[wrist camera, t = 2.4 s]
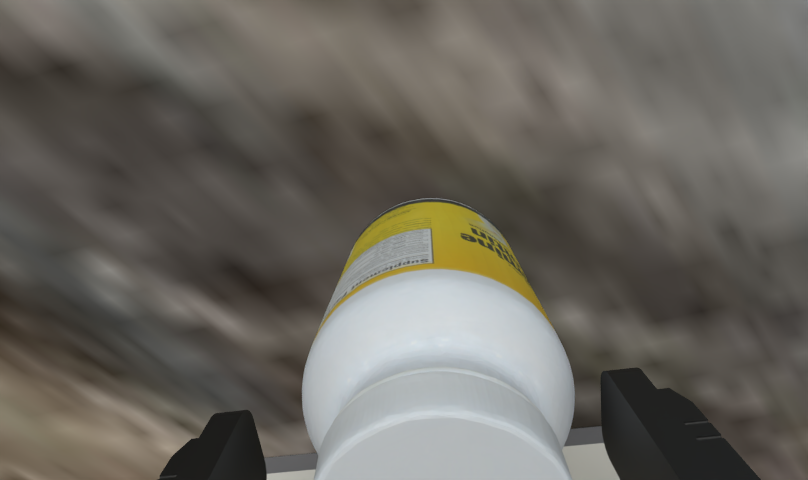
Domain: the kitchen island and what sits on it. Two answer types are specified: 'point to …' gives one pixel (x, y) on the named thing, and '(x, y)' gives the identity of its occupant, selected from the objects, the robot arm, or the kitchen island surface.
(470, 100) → the kitchen island surface
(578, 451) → the socket block
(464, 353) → the pill bottle
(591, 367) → the kitchen island surface
